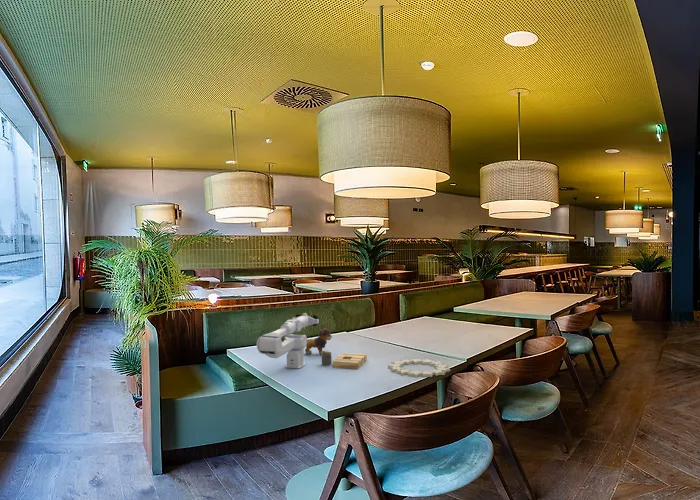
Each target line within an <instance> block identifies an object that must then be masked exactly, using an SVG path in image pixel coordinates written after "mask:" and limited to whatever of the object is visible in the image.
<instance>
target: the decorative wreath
mask: <svg viewBox="0 0 700 500" xmlns="http://www.w3.org/2000/svg"><path fill="white" fill-rule="evenodd" d="M411 364H414V365H417V364H419V365H421V364H422V365H423V366H424V365H428V366H430V367H433V369H432V370H425V371H419V370H411V369H406V368H405V367H404V365H405V366H406V365H407V366H408V365H411ZM387 369H390V372H391V373H396V374H399V375H401V376H404V375H405V376H408V377H414V378H418V377H422V378H425V377H428V378H433V376H445V374H446V373H449V372H451V368H449V364H444V363H442V362H441V361H440V360H439V361H435V360H431V359H428V358H427V359H422V358H419V359H418V358H413V359H400V361H399V360H397V361H391V363H390V364H389V365H387Z"/></svg>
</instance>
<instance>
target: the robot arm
mask: <svg viewBox="0 0 700 500" xmlns="http://www.w3.org/2000/svg"><path fill="white" fill-rule="evenodd" d="M319 317H320V316H318V315H312V317H311V316H309V315H308V313H306V312H303V313H302V314H298V313H296V314H295V317H292V318H291V319H287V320H286V321H285V322H284V323H283V324H282V325H281V326H280V327H279V329H277V330H274V331H272V332H269V333H265V334H263V335H262V336H259V337H258V338H257V341H256V349H257V351H258V353H259V354H262V355H265V356H267V357H268V358H271V359H279V358H281V356H282V357H283V356H284V355H285V354H286V365H284V368H288V369H289V368H290V369H301V368H303V367H304V366H306V365H307V362H304V361H305V359H304V356H305V355H304V352H305V347H306V345H307V340H308V338H307V335H306V334H294V333H300V332H301V330H302V329H303V328H305V327H309V326H312V327H317V326H318V324H319V323H320V322H319V321H320V320H319ZM283 337H284V340H283V341H282V338H283Z"/></svg>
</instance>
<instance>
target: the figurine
mask: <svg viewBox="0 0 700 500" xmlns="http://www.w3.org/2000/svg"><path fill="white" fill-rule="evenodd" d="M333 331H334V330H333V329H332V330H330V329H329V328H327V327H322V328H321V329H320V331H319V332H318V335H317V337H315V338H314V339H312V338H310V339H309V338H308V339H307V345H306V346H305V347H306V348H304V352H305V354H306V355H310V354H311V353H313V351H312V350H311V349H313V348H317V350H318V351H317V352H318V353H319V355H321V356H322V351H323V349H325V348H326V344H327V341H330V340H331V339H332V338H333V336H332V332H333Z"/></svg>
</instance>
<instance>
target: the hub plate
mask: <svg viewBox="0 0 700 500" xmlns="http://www.w3.org/2000/svg"><path fill="white" fill-rule="evenodd" d="M367 355H368V354H367V353H355V352H354V353H352V352H342V353H341V354H340V355H338V356H337V357H336V358H334V359H332V367H333V368H339V369H340V368H341V369H357V370H358V369H359V368H360V367H361V366H362V365H363V364H364V363H365V362H366V361H367Z"/></svg>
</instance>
